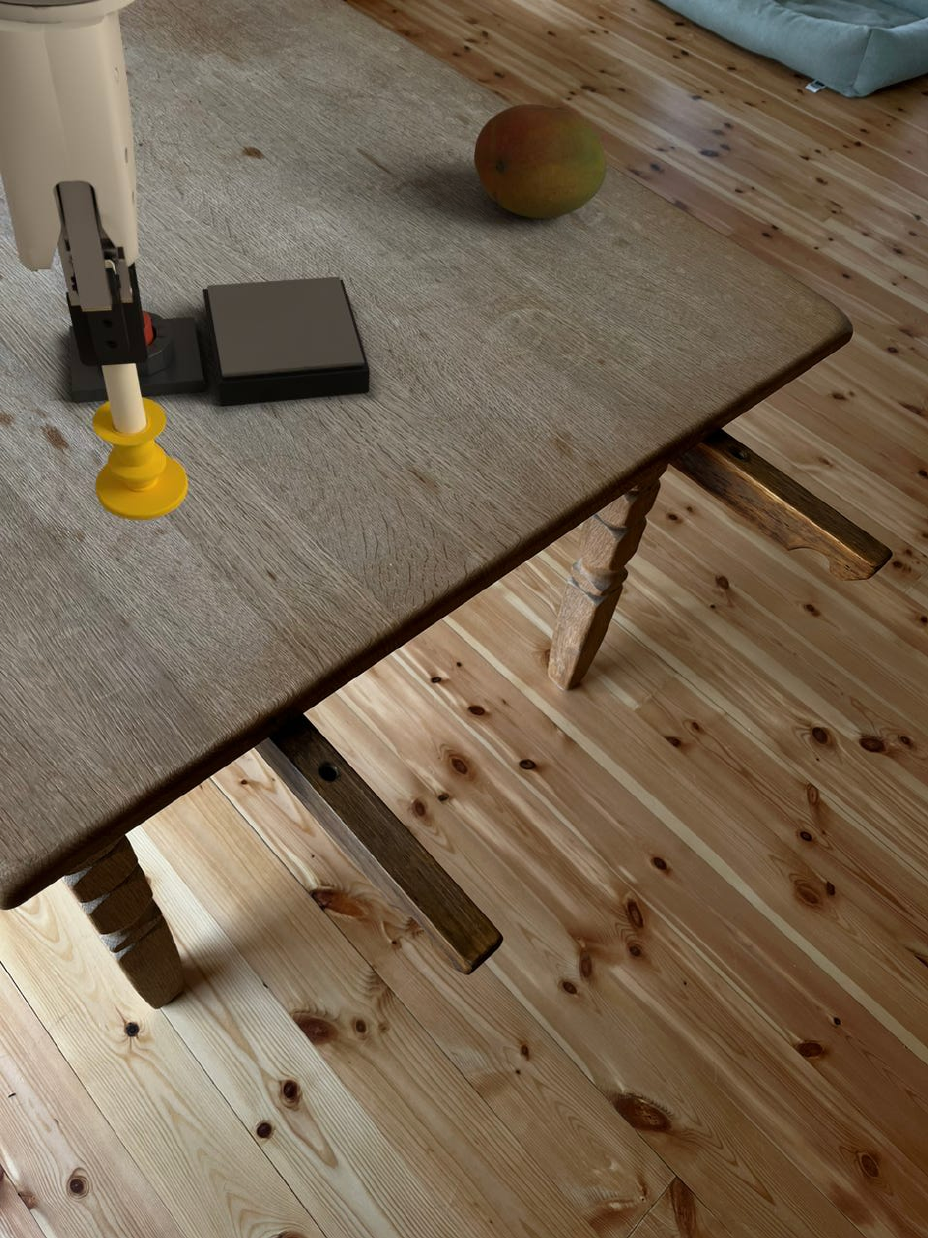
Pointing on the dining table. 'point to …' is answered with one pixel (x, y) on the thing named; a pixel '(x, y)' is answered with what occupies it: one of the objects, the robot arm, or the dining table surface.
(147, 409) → the candle
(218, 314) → the scale
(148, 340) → the button
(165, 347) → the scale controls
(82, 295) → the robot arm
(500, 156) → the fruit
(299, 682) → the dining table surface
